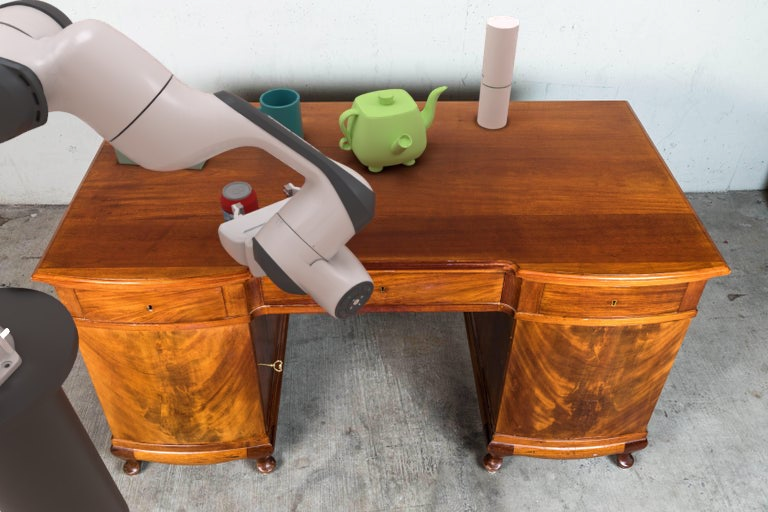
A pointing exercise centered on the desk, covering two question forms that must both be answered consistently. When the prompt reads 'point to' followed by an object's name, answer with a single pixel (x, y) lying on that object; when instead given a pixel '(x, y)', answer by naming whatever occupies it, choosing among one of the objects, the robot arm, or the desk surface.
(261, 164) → the desk surface
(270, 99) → the cup
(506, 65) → the cylindrical container
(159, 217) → the desk surface
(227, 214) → the beverage can
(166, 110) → the robot arm
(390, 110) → the teapot
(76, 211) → the desk surface
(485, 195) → the desk surface
